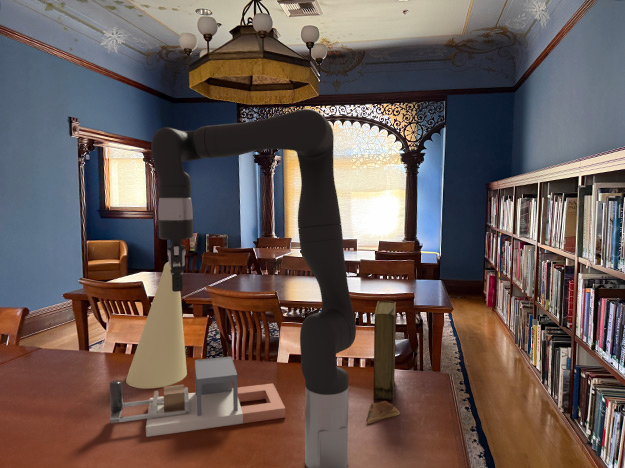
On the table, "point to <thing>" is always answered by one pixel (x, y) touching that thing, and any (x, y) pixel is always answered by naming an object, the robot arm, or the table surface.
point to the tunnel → (215, 379)
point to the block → (174, 398)
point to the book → (384, 350)
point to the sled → (118, 404)
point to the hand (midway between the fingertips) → (177, 287)
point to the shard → (381, 411)
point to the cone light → (161, 341)
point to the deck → (219, 411)
